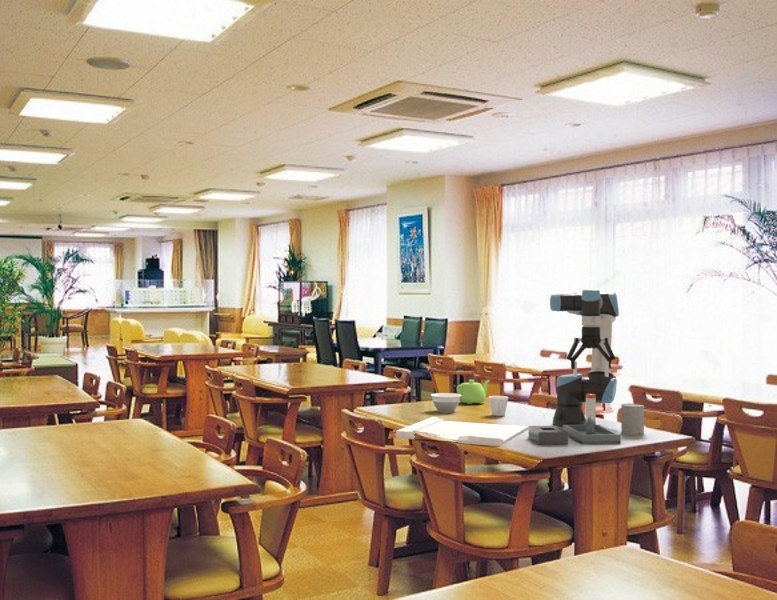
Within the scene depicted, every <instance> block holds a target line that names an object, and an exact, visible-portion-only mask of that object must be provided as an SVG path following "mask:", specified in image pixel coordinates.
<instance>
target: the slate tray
mask: <svg viewBox="0 0 777 600" xmlns="http://www.w3.org/2000/svg"><path fill="white" fill-rule="evenodd" d="M562 429H564V430H565V431H567V432H568V438H571V439H573V440H574V441H577V442H578V443H579V444H581V445H590V444H591V445H593V444H594V445H595V444H596V445H597V444H599V445H600V444H601V445H604V444H608V445H609V444H621V443H622V442H621V440H622V439H621V436H622V435H621V434H620V433H618V432H616V431H613V430H611V429H609V428H608V427H605V426H603V425H601V424H596V434H586V425H563V426H562Z"/></svg>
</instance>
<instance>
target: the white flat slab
mask: <svg viewBox="0 0 777 600" xmlns="http://www.w3.org/2000/svg"><path fill="white" fill-rule="evenodd" d="M415 430H416V431H420V433H425V434H428V435H431V436H436V437H441V438H445V439H449V440H453V441H456V442H458V443H457V444H467V445H468V444H469V445H480V446H489V447H490V446H491V447H492V446H493V447H501V446H503V445H504V444H506V443H508V442H510V441H512V440H513V439H515V438H516V437H518V436H519V435H522V434H523V433H524V432H526V431H529V425H528V426H526V425H512V424H511V425H510V424H495V423H483V422H482V423H481V422H480V423H479V422H467V421H465V422H464V421H451V420H450V421H449V420H444V418H440V417H436V416H431V417H428V418H426V419H424V420H421V421H418V422H416V423H413V424H410V425H408V426H406V427H401V428H400V429H397V430H396V431H395V435H396V436H395V438H396V439H405V440H406V439H407V440H415V439H414V438H415V436H414V434H415V433H416V432H413V431H415Z"/></svg>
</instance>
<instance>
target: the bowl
mask: <svg viewBox="0 0 777 600" xmlns="http://www.w3.org/2000/svg"><path fill="white" fill-rule="evenodd" d="M430 396H431V398H432V402H433V405H434V407H435V409H436V410H437V412H438V413H445V414H447V413H448V414H449V413H454V412H455V410H456V409H457V407H458V406H459V404H460V401H459V398H460V397H461V395H460V394H458V393H453V392H451V393H450V392H449V393H448V392H445V393H444V392H441V393H440V392H436V393H431V394H430Z"/></svg>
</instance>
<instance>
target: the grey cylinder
mask: <svg viewBox="0 0 777 600" xmlns="http://www.w3.org/2000/svg"><path fill="white" fill-rule="evenodd" d="M620 406H621V407H620V408H621V423H620V424H621V426H620V427H621V431H620V432H621V434H622V435H626V436H643V434H644V435H645V405H644V404H640V403H622V404H620Z"/></svg>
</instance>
